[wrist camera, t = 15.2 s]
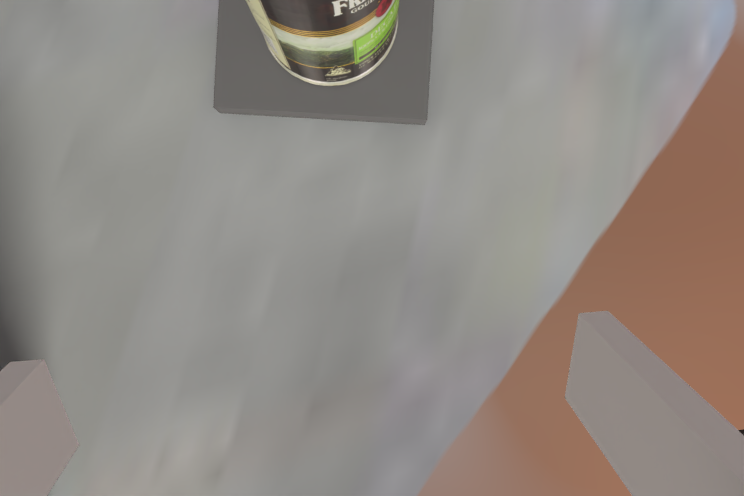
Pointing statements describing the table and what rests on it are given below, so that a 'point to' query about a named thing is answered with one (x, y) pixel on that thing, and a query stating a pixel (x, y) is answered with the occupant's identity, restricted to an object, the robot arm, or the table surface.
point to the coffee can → (327, 36)
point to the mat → (306, 100)
